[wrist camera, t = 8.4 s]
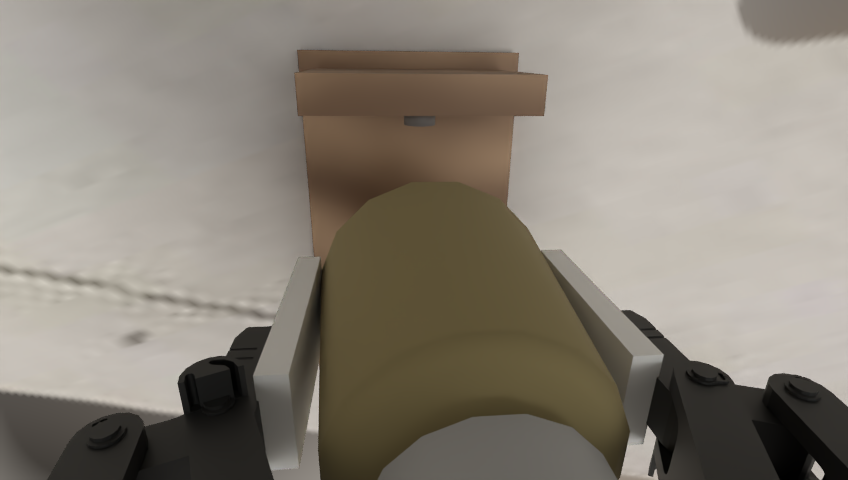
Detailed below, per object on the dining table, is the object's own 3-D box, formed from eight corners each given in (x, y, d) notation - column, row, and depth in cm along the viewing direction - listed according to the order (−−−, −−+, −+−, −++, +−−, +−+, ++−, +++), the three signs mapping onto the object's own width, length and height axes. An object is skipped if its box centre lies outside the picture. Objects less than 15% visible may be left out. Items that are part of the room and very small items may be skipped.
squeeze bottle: (398, 358, 22) (466, 1245, 6) (290, 228, 20) (-219, 1232, 3) (544, 270, 21) (1151, 1019, 5) (453, 119, 19) (1166, 646, 2)
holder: (300, 50, 26) (264, 46, 17) (512, 53, 27) (574, 51, 19) (320, 305, 32) (301, 394, 23) (494, 298, 33) (535, 381, 24)
